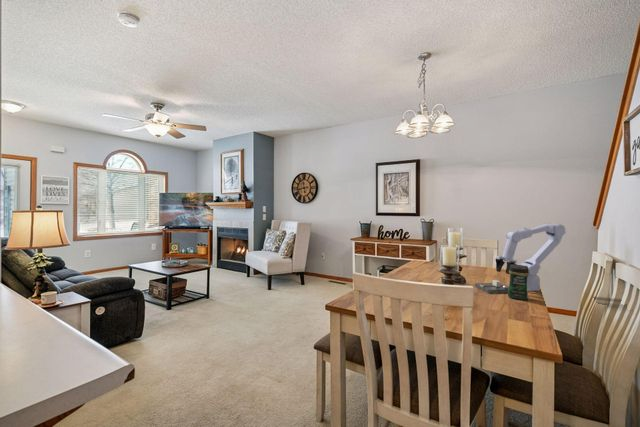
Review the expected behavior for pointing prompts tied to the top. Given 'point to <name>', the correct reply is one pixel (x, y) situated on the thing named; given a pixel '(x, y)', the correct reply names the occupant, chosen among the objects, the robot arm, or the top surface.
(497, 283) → the fader cap
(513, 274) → the coffee jar
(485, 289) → the console
